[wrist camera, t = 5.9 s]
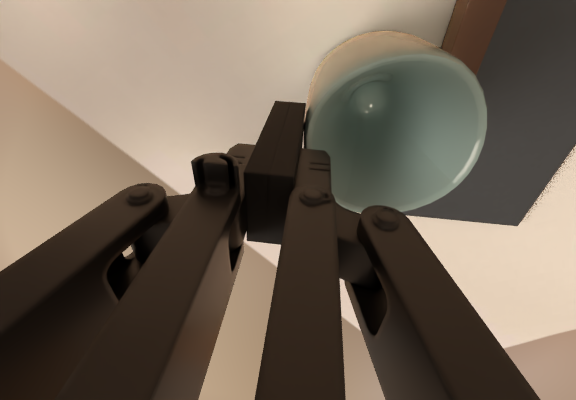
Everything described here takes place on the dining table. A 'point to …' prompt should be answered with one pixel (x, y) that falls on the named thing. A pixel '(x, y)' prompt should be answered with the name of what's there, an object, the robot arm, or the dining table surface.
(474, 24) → the stop bar
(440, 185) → the cup
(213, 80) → the dining table surface
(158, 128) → the dining table surface
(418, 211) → the mat
